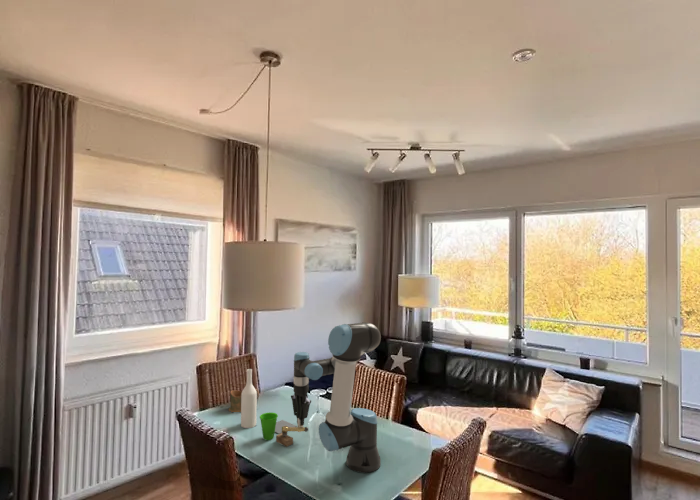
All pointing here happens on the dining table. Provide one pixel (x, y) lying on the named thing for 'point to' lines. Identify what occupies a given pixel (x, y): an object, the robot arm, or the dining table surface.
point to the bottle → (248, 403)
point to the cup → (268, 425)
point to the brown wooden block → (284, 439)
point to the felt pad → (280, 424)
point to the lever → (294, 429)
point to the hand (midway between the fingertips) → (300, 431)
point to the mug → (236, 401)
